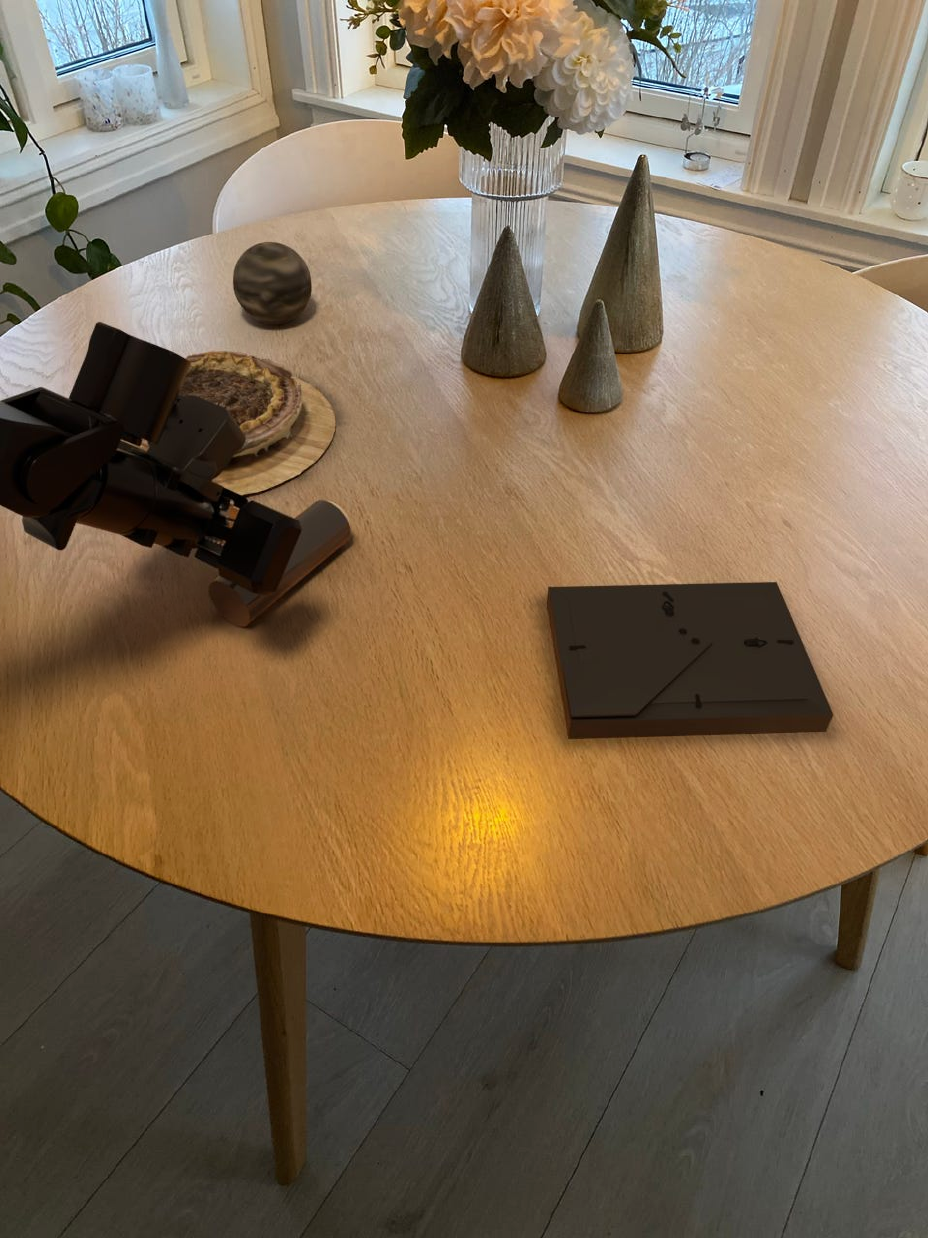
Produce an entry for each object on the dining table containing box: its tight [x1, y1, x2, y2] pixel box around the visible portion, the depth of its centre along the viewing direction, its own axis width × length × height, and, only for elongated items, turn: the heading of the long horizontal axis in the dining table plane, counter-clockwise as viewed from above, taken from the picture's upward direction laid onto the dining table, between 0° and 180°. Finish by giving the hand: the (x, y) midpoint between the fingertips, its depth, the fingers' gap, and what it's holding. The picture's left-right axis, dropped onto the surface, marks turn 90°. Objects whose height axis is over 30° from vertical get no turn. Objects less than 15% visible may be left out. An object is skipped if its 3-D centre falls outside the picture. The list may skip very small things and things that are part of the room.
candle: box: [207, 499, 352, 627], centre depth 87 cm, size 5×5×15 cm
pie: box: [121, 350, 337, 496], centre depth 105 cm, size 28×27×5 cm
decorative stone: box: [232, 241, 313, 325], centre depth 123 cm, size 10×10×10 cm
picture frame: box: [546, 581, 834, 740], centre depth 81 cm, size 16×3×21 cm
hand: (252, 535), depth 82 cm, fingers closed
